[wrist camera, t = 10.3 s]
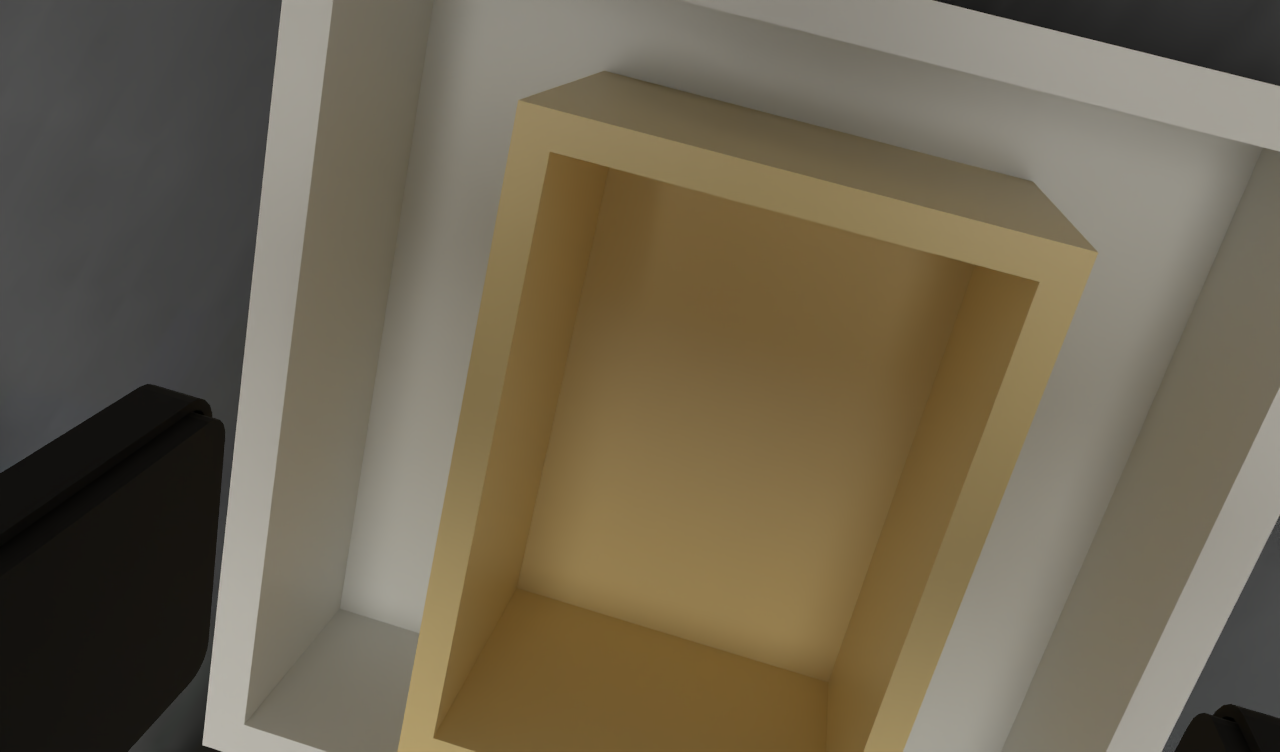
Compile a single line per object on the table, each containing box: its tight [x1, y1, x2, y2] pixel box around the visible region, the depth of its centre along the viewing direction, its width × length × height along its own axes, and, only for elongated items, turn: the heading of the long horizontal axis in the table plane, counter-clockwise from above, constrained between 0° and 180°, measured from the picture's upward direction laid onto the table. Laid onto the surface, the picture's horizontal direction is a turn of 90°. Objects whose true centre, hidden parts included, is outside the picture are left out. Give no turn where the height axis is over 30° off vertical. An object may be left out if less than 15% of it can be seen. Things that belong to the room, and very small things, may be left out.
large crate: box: [202, 0, 1280, 752], centre depth 18 cm, size 14×14×4 cm
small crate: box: [397, 71, 1098, 752], centre depth 17 cm, size 10×7×5 cm
